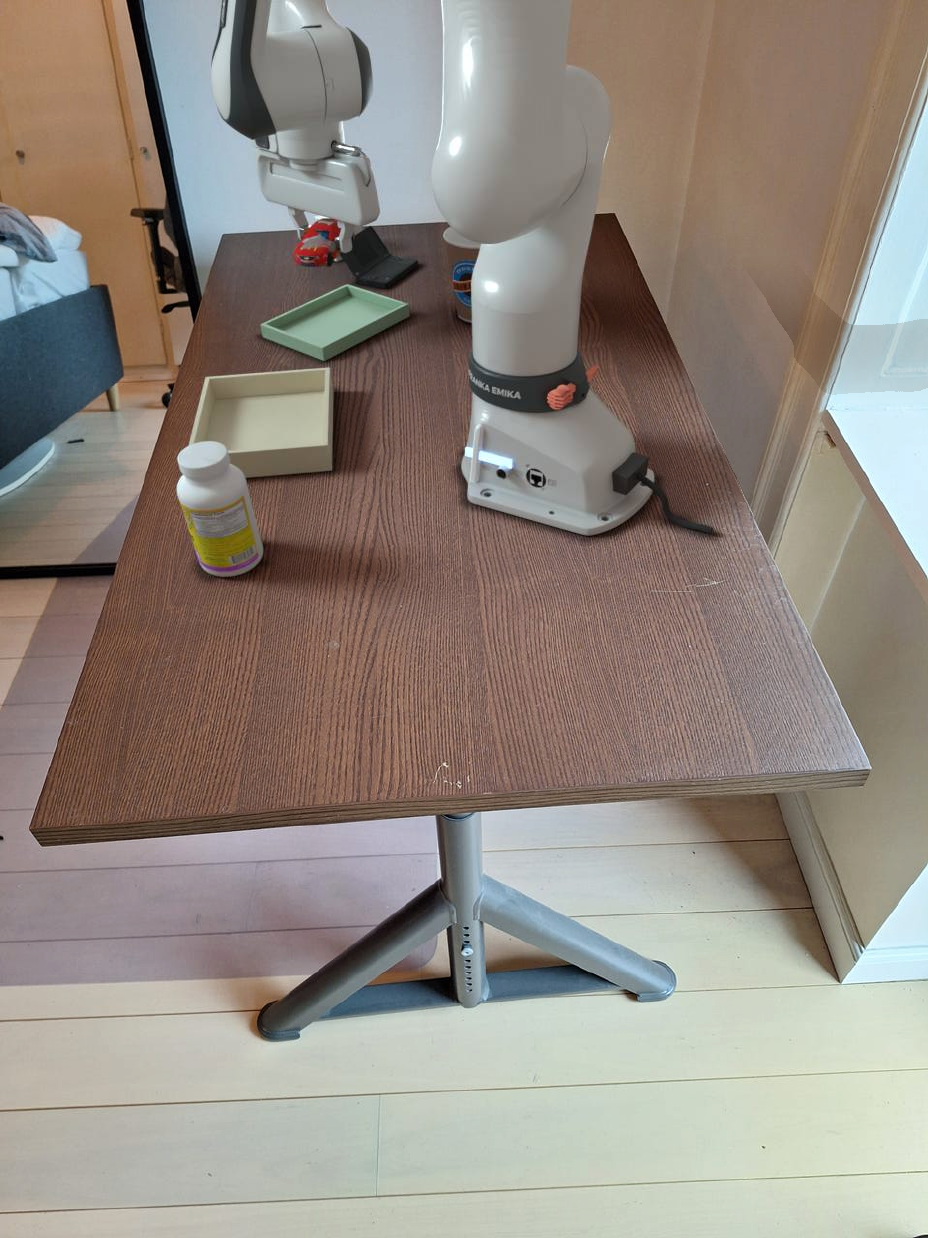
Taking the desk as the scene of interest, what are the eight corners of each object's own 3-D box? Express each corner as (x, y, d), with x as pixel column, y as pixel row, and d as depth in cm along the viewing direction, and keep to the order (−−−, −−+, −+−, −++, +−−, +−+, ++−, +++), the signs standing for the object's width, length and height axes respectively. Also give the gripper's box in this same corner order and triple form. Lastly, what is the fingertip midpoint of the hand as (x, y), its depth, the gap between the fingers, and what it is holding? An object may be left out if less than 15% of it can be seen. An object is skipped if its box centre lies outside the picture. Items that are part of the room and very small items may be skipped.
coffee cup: (437, 324, 128) (432, 242, 120) (459, 297, 135) (456, 217, 127) (502, 332, 126) (502, 248, 117) (521, 303, 133) (523, 223, 124)
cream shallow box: (211, 400, 113) (205, 376, 111) (333, 391, 114) (329, 367, 112) (193, 482, 99) (185, 456, 97) (332, 470, 100) (327, 444, 98)
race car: (325, 273, 116) (321, 243, 113) (289, 270, 117) (284, 240, 115) (361, 238, 125) (358, 210, 122) (328, 236, 126) (324, 207, 124)
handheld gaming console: (398, 279, 137) (360, 223, 134) (367, 303, 141) (329, 250, 138) (423, 263, 146) (388, 210, 143) (393, 286, 150) (358, 235, 147)
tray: (409, 316, 131) (408, 303, 129) (324, 361, 121) (322, 347, 119) (348, 296, 137) (347, 283, 135) (262, 337, 127) (260, 324, 125)
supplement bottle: (212, 538, 91) (181, 433, 83) (272, 540, 91) (247, 435, 82) (190, 578, 87) (155, 472, 78) (253, 581, 86) (225, 474, 77)
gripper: (385, 142, 108) (394, 253, 117) (276, 119, 117) (293, 224, 127) (350, 154, 104) (362, 268, 114) (241, 130, 114) (260, 237, 123)
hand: (325, 244), depth 120 cm, fingers closed on race car, 6 cm apart
